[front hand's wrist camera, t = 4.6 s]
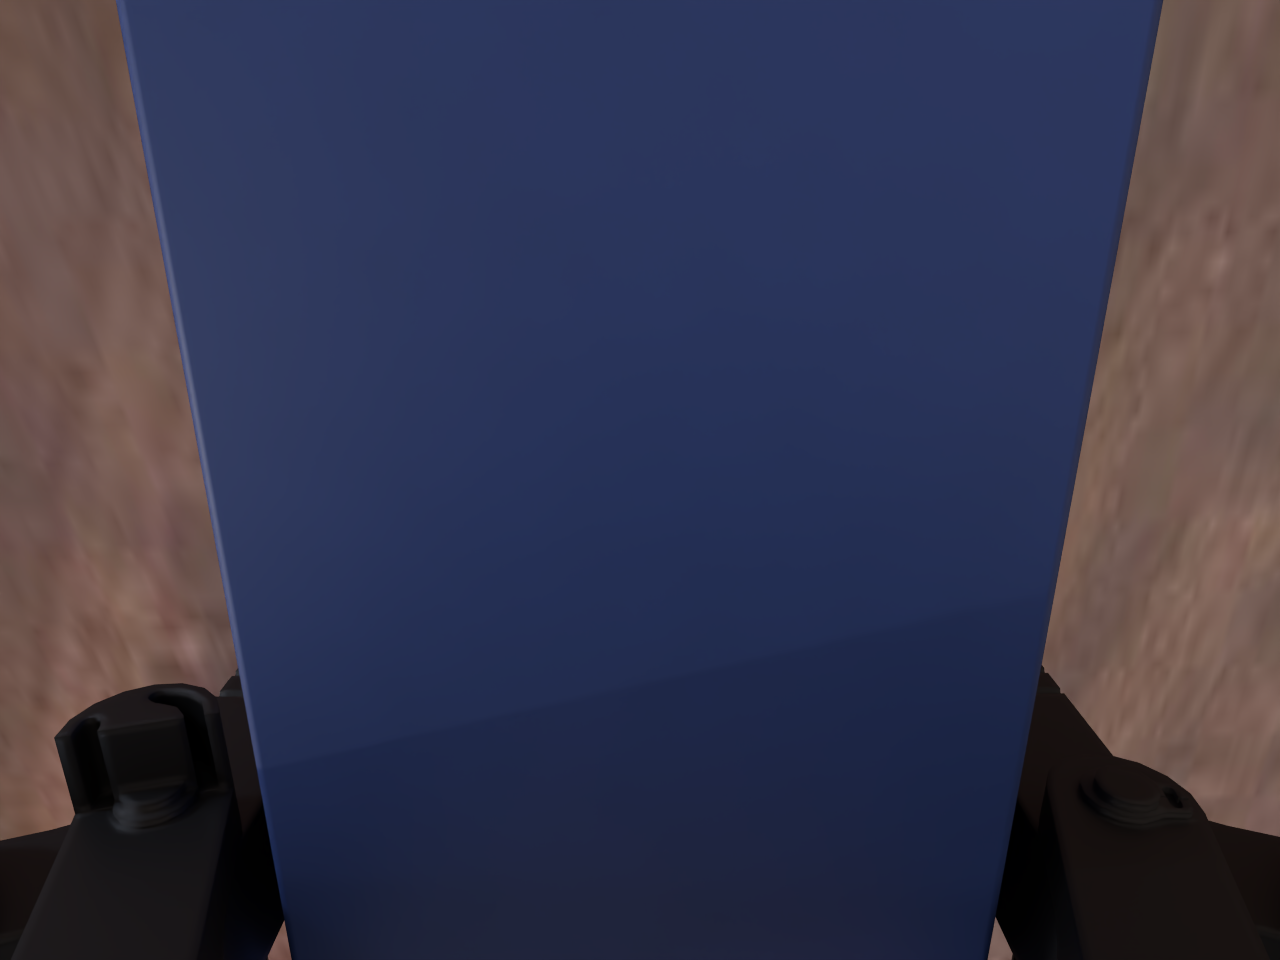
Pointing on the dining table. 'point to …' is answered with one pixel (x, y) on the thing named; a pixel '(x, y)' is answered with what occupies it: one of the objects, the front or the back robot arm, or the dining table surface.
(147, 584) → the dining table surface
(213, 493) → the bar
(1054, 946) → the front robot arm
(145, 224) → the dining table surface
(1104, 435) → the dining table surface
